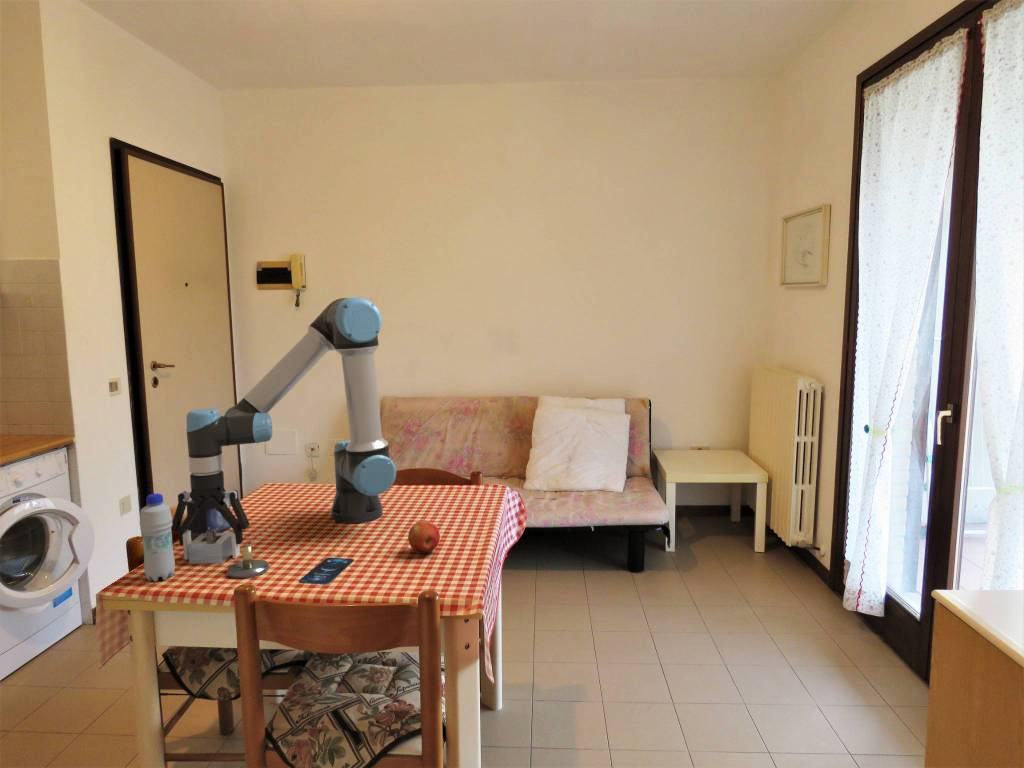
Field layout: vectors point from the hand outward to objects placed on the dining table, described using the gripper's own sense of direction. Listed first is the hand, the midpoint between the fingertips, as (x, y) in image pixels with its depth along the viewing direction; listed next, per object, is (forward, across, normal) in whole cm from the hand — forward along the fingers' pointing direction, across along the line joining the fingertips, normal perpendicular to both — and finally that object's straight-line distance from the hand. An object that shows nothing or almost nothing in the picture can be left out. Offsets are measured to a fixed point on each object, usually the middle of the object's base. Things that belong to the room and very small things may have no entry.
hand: (212, 556), depth 164 cm
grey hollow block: (0, 0, 0) cm, 0 cm away
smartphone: (+1, -31, +10) cm, 33 cm away
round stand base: (0, -12, +9) cm, 15 cm away
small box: (0, +8, -18) cm, 20 cm away
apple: (0, -53, 0) cm, 53 cm away
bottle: (0, +7, +12) cm, 14 cm away
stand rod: (0, 0, 0) cm, 0 cm away
